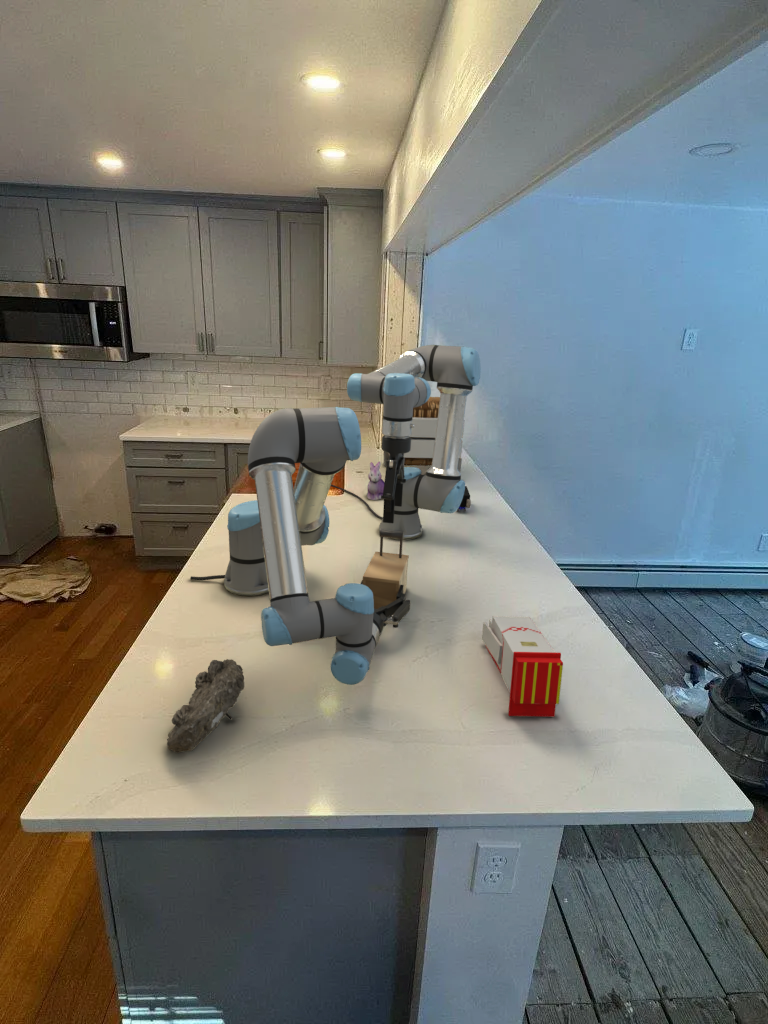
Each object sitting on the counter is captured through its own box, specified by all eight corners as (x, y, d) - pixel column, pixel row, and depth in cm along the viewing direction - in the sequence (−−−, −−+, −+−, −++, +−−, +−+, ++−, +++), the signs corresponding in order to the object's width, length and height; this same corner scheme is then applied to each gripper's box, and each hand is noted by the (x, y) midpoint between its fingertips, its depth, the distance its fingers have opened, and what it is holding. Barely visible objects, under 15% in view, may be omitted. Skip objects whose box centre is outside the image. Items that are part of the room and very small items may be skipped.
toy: (528, 601, 136) (572, 659, 107) (523, 653, 139) (565, 722, 110) (478, 600, 136) (508, 657, 107) (474, 652, 139) (503, 722, 109)
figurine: (371, 501, 231) (372, 466, 226) (360, 494, 239) (361, 460, 234) (391, 499, 235) (393, 464, 230) (380, 492, 244) (382, 458, 238)
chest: (373, 585, 162) (374, 555, 159) (406, 589, 160) (408, 559, 157) (361, 612, 148) (362, 579, 144) (397, 616, 146) (399, 584, 143)
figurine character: (470, 516, 223) (465, 500, 237) (473, 499, 220) (467, 484, 233) (453, 516, 223) (449, 500, 236) (455, 498, 220) (451, 483, 233)
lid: (375, 554, 160) (376, 526, 157) (408, 557, 158) (410, 529, 155) (362, 579, 144) (363, 548, 142) (399, 583, 143) (400, 553, 140)
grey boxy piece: (382, 463, 289) (386, 382, 275) (445, 464, 293) (451, 384, 279) (390, 482, 257) (394, 392, 243) (460, 483, 261) (468, 394, 247)
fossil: (192, 660, 117) (244, 628, 112) (224, 691, 120) (276, 661, 115) (142, 746, 98) (202, 712, 93) (182, 779, 101) (242, 748, 96)
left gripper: (316, 639, 130) (341, 594, 151) (411, 653, 126) (423, 605, 147) (316, 610, 127) (341, 569, 148) (413, 624, 124) (425, 579, 144)
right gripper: (403, 447, 133) (399, 531, 140) (417, 427, 156) (412, 500, 163) (372, 445, 134) (369, 528, 141) (390, 425, 157) (387, 498, 164)
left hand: (382, 587), depth 148 cm, fingers closed on chest, 9 cm apart
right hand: (392, 513), depth 152 cm, fingers open, 13 cm apart
